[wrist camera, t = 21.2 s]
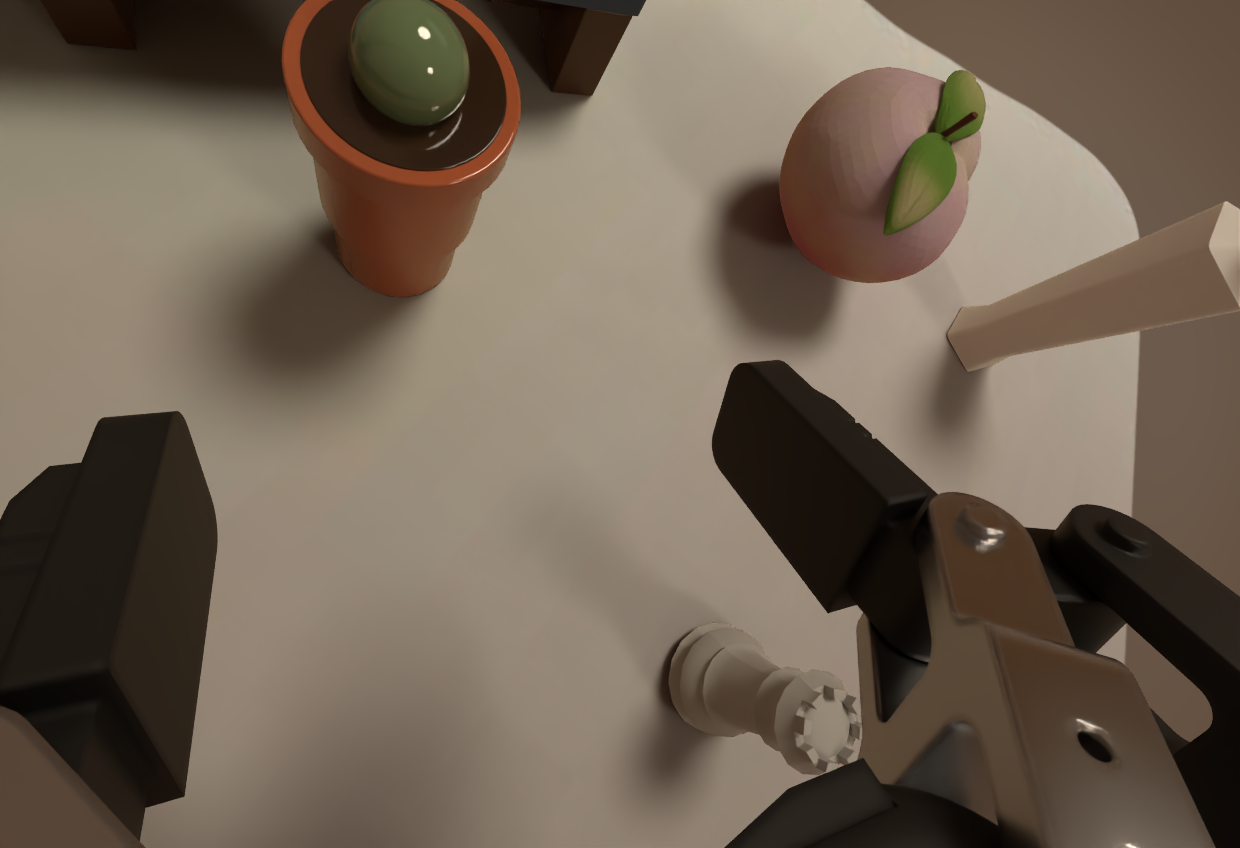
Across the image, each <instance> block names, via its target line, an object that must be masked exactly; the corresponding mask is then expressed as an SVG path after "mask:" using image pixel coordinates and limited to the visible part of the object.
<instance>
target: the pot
mask: <svg viewBox="0 0 1240 848" xmlns="http://www.w3.org/2000/svg"><path fill="white" fill-rule="evenodd" d="M281 65H282V72H283V79H284V84H285V89H286V94H287V99H288V103H289V108H290V112H291V116H292V119H293V123H294V125H295V128H296V130H297V132H298V134H299V137H300V139H301V140H302V142H303V144H304V145H305V147H306V148H307V150H308V152H309V153H310V154H311V155H312V157H313V160H314V166H315V172H316V177H317V183H318V189H319V195H320V200H321V203H322V207H323V209H324V212H325V214H326V216H327V218H328V220H329V221H330V223H331V224H332V226H333V227H334V230H335V237H336V245H337V250H338V253H339V256H340V258H341V261H342V263H343V264H344V266H345V267H346V269H347V270H348V271H349V273H350V274H351V275H352V276H353V277H354V278H355V279H356V280H357V281H359V282H360V283H361V284H363V285H364V286H366V287H367V288H369V289H371V290H373V291H376V292H378V293H381V294H384V295H389V296H397V297H407V296H414V295H418V294H421V293H424V292H426V291H428V290H430V289H432V288H433V287H435V286H436V285H437V284H438V283H439V282H440V281H441V280H442V279H443V278H444V277H445V275H446V274H447V272H448V270H449V268H450V266H451V263H452V259H453V256H454V252H455V249H456V248H457V247H458V246H459V245H460V244H461V243H462V242H463V241H464V239H465V238H466V236H467V235H468V233H469V231H470V228H471V226H472V224H473V220H474V217H475V214H476V211H477V208H478V205H479V202H480V199H481V196H482V193H483V192H484V191H485V190H486V189H487V188H489V186H490V185H491V184H492V183H493V182H494V181H495V180H496V179H497V177H498V176H499V174H500V173H501V171H502V169H503V167H504V165H505V163H506V161H507V158H508V156H509V153H510V150H511V147H512V145H513V142H514V139H515V136H516V134H517V130H518V126H519V122H520V114H521V96H520V91H519V85H518V81H517V78H516V74H515V71H514V68H513V66H512V64H511V62H510V59H509V57H508V55H507V54H506V52H505V50H504V48H503V47H502V45H501V44H500V42H499V41H498V39H497V38H496V37H495V35H494V34H493V33H492V32H491V30H490V29H489V28H488V27H487V26H486V25H485V24H484V23H483V22H482V21H481V20H480V19H479V18H478V17H477V16H476V15H475V14H474V13H472V12H471V11H470V10H469V9H467V8H466V7H465V6H463V5H462V4H461V3H459V2H458V1H456V0H305V2H304V3H303V4H302V5H301V6H300V7H299V8H298V10H297V11H296V13H295V14H294V16H293V18H292V19H291V21H290V22H289V25H288V27H287V30H286V33H285V35H284V40H283V45H282V57H281Z"/></svg>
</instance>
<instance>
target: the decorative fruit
mask: <svg viewBox="0 0 1240 848" xmlns="http://www.w3.org/2000/svg"><path fill="white" fill-rule="evenodd" d="M985 108H986V103H985V98H984V94H983V91H982V89H981V87H980V85H979V84H978V83H977V82H976V78H975V76H974V75H973V74H971V73H970V72H968V71H963V70H959V71H955V72H953V73H952V74H951V75H950V76H949V77H948V79H947V81H946V83H945V82H944V81H941V80H939V79H936V78H933V77H930V76H927V75H923V74H920V73H917V72H913V71H909V70H906V69H900V68H891V67H887V68H876V69H872V70H867V71H864V72H861V73H858V74H855V75H853V76H851V77H849V78H847V79H845V80H843V81H841V82H840V83H838V84H837V85H836V86H834V87H833V88H832V89H830V90H829V91H828V92H827V93H826V94H824V95H823V96H822V97H821V98H820V99H819V100H818V101H817V102H816V103H815V104H814V105H813V106H812V107H811V108H810V109H809V110H808V111H807V112H806V114H805V115H804V117H803V118H802V119H801V121H800V122H799V124H798V125H797V127H796V129H795V131H794V132H793V134H792V137H791V139H790V141H789V144H788V146H787V149H786V152H785V156H784V159H783V163H782V167H781V174H780V198H781V205H782V209H783V214H784V218H785V221H786V225H787V227H788V230H789V233H790V235H791V237H792V239H793V241H794V243H795V245H796V246H797V248H798V249H799V250H800V251H801V252H802V253H803V254H804V255H805V256H806V257H807V258H808V259H809V260H810V261H811V262H813V263H814V264H815V265H817V266H818V267H819V268H821V269H822V270H824V271H826V272H828V273H830V274H831V275H834V276H837V277H839V278H842V279H846V280H850V281H855V282H863V283H879V282H887V281H893V280H898V279H901V278H904V277H907V276H910V275H913V274H915V273H917V272H919V271H921V270H923V269H924V268H926V267H927V266H929V265H930V264H931V263H933V262H934V261H935V260H936V259H937V258H938V257H939V256H940V255H941V254H942V252H943V251H944V250H945V249H946V248H947V246H948V245H949V244H950V242H951V241H952V239H953V237H954V236H955V234H956V233H957V231H958V229H959V227H960V225H961V224H962V221H963V219H964V216H965V213H966V209H967V204H968V181H969V179H970V178H971V176H972V174H973V172H974V170H975V167H976V165H977V163H978V159H979V155H980V149H981V137H980V132H979V129H980V127H981V125H982V123H983V119H984V114H985Z"/></svg>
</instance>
